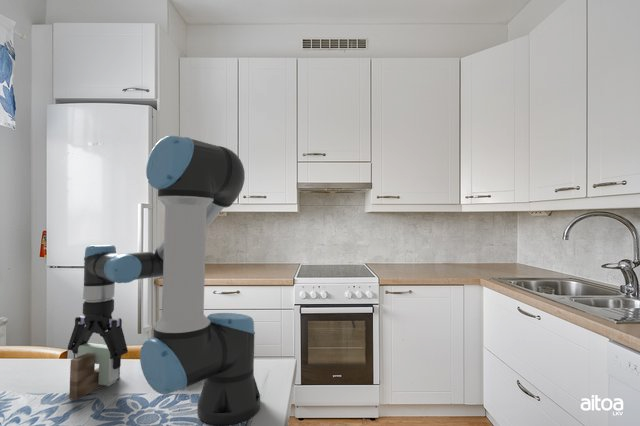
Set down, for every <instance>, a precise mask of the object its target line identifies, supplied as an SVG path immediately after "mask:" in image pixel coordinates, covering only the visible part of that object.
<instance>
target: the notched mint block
mask: <svg viewBox="0 0 640 426" xmlns="http://www.w3.org/2000/svg"><path fill="white" fill-rule="evenodd" d="M115 352H116V351H115ZM87 353H91V354H95V357H94V370H95V369H96V368H95V367H96V366H95V365H98V368H99V383H98V384H100V385H104V386H107V387H109V386H111V385H113V384H114V383H117V379H116V380H114V381H112V382H108V377H109V358H110V357H112V356H111V354H110V351H109V349H108V347H107V345H106V344H102V343H101V344H100V343H93V342H87V343H85V344H83V345H80V346H79V348H78V357H79V356H81V355H84V354H87Z"/></svg>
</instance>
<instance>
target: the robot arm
mask: <svg viewBox="0 0 640 426" xmlns="http://www.w3.org/2000/svg"><path fill="white" fill-rule="evenodd" d="M145 172H146V173H145V174H146V175H145V176H146V178H147V180H148V182H147V183H148V184H149V185H150V186H151V187H152V188H154V189H155V190H157V199H158V201H159V202H160V203H162V204H163V206H164V225H163V226H164V228H163V229H164V230H163V233H164V234H163V240H162V241H161V243H160V244H159V245H158V247H157V248H156V249H155V250H154V251H143V252H142V251H141V252H140V251H139V252H127V253H120V252H119V253H117V249H116V246H115V245H114V244H93V245H92V244H90V245H88V246H86V247H85V251H84V257H83V268H84V270H83V289H82V290H83V294H82V300H84V301H83V302H82V315H80V316H77V317H75V318H74V327H73V329H72V330H73V331H72V333H71V336H70V339H69V342H68V343H67V344H68V345H67V350H68V351H72V353H73V359H74V358H76V357H78V348H79V346H80V345H83V344H85V343H89V340H90V339H91V337H92V336H93V334H97V335H98V334H99V336H100V337H101V338H103V341H104V343H105V345H107V347H108V349H109V351H110V354H111V356H112V357H110V358H109V377H108V382H112V381H114V380H116V381H117V380H118V379H119V378H120V377H119V368H120V369H121V366H122V365H121V363H122V359H121V358H122V356H124V355H125V354H127V353H129V352H128V351H129V350H128V346H127V343H126V339H125V334H124V330H123V327H122V323H123V320H122V318H121V317H119V318H116V319H115V318H113V316H112V314H113V313H114V310H115V299H114V297H115V285H116V283H117V284H128V283H131V282H133V281H135V280H143V279H150V278H160V277H162V292H161V293H162V295H161V296H162V298H161V317H160V319H158V321H156V323H154V324H153V328H152V329H153V331H152V332H153V333H152V337H149V338H148V339H147V340H145V341H144V342H143V343H142V346H141V348H140V352H139V361H140V363H139V364H140V366H141V371H142V375H143V376H144V378H145V380H146V382H147V384H148V385H149V387H150V388H152V390H154V392H156V393H158V394H160V395H170V394H173V393H175V392H177V391H184V390H185V389H186V388H188V387H190V386H193V385H195V384H197V383H199V382H202V381H203V380H204V383H203V387H202V389H201V392H200V396H199V399H198V401H197V412H196V413H197V417H198V418H199V419H200V420H201V421H202V422H204V423H206V424H208V425H215V426H226V425H228V426H229V425H234V424H239V423H242V422H244V421H247V420H249V419H251V418H253V417H254V416H255V415H256V414H257V413H258V412H259V410H260V408H261V394H260V391H259V388H258V384H257V380H256V379H255V375H254V374H255V373H254V371H255V370H254V369H255V367H254V366H255V335H256V332H255V322H254V319H253V318H252V317H251V316H250V315H247V314H241V313H236V312H235V313H234V312H233V313H232V312H216V313H210V314H209V315H207V316H206V315H205V313H204V310H205V279H206V278H205V277H206V274H205V273H206V272H205V271H206V242H207V241H206V238H207V237H206V236H207V235H206V234H207V229H208V228H209V226H211V224H212V223H213V222H214V221H215V219H216V218H217V217H218V216H219V215H220V213H221V212H222V211H223V210H224V209H225V208H229V207H231V206H232V205H233V204H234V202H235V201H236V200H237V198H238V197H239V196H240V194H241V192H242V190H243V187H244V184H245V175H246V174H245V168H244V164H243V162H242V161H241V158H240V157H239V156H238V155H237V154H236V153H235V152H234V151H233V150H231V149H230V148H227V147H224V146H221V145H215V144H212V143H208V142H204V141H202V140H196V139H194V138H190V137H187V136H186V137H185V136H184V137H183V136H177V135H168V136H167V135H166V136H165V137H163V138H161V139H160V140H159V141H158V142H156V144H155V145H154V147H153V148H152V149H151V151H150V153H149V156H148V159H147V162H146V169H145ZM115 351H116V352H115Z"/></svg>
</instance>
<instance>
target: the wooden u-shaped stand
mask: <svg viewBox="0 0 640 426" xmlns="http://www.w3.org/2000/svg"><path fill="white" fill-rule="evenodd" d="M94 357H95V354H91V353H87V354H84V355H81V356H79V357H76V358H74V357H73V358H71V359H70V364H69V365H70V367H69V368H70V369H69V370H70V371H69V396H68V397H69V399H71V400H78V399H80V398H82V397H84V396H86V395H89V394H90V393H92V392H93V391H96V390H98V389H99V388H102V387H103V386H105V385H100V384H98V383H99V367H98V368H95V370H94ZM120 369H121V367H120V368H119V378H121V377H120V374H121V370H120Z"/></svg>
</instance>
